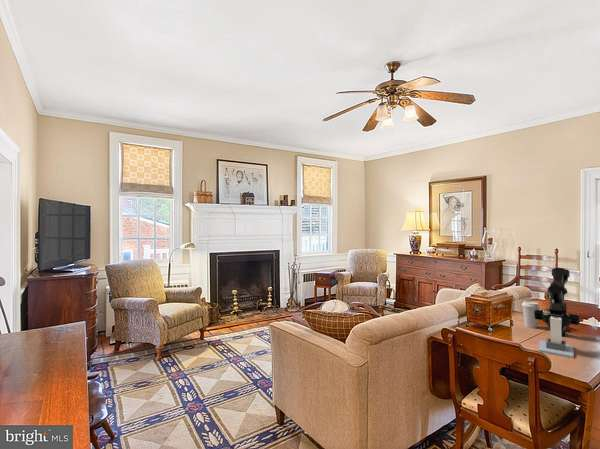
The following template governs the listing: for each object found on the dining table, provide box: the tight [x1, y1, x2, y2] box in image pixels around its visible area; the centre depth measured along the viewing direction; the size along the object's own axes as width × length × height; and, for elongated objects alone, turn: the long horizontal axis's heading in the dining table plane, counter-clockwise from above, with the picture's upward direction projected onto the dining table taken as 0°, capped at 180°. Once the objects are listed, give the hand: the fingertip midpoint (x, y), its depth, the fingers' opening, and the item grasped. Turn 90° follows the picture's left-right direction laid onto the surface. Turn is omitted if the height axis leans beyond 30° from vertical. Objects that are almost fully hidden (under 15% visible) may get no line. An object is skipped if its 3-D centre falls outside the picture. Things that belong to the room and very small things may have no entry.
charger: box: [549, 316, 563, 344], centre depth 177 cm, size 4×4×13 cm
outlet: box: [537, 337, 575, 359], centre depth 177 cm, size 18×14×4 cm
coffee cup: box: [521, 300, 541, 329], centre depth 216 cm, size 10×10×15 cm
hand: (555, 331), depth 176 cm, fingers closed on charger, 4 cm apart
